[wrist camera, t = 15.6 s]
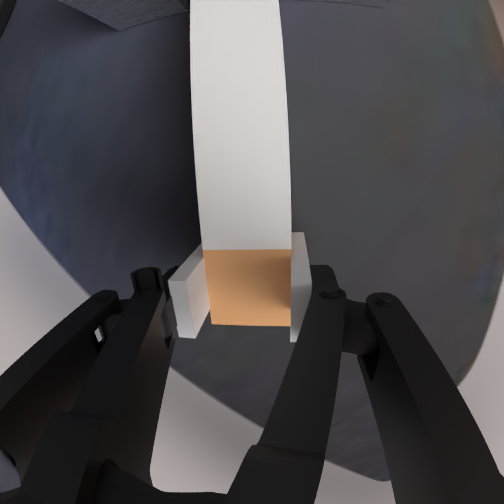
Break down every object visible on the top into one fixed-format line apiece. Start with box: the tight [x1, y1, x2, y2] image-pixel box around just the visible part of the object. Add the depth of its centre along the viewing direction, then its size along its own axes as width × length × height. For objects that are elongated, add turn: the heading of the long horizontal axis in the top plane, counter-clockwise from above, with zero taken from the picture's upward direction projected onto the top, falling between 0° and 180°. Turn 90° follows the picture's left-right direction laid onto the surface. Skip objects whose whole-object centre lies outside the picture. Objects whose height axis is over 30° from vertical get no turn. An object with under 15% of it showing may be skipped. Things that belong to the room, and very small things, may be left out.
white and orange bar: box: [190, 0, 292, 326], centre depth 13 cm, size 24×4×5 cm, turn 3°
